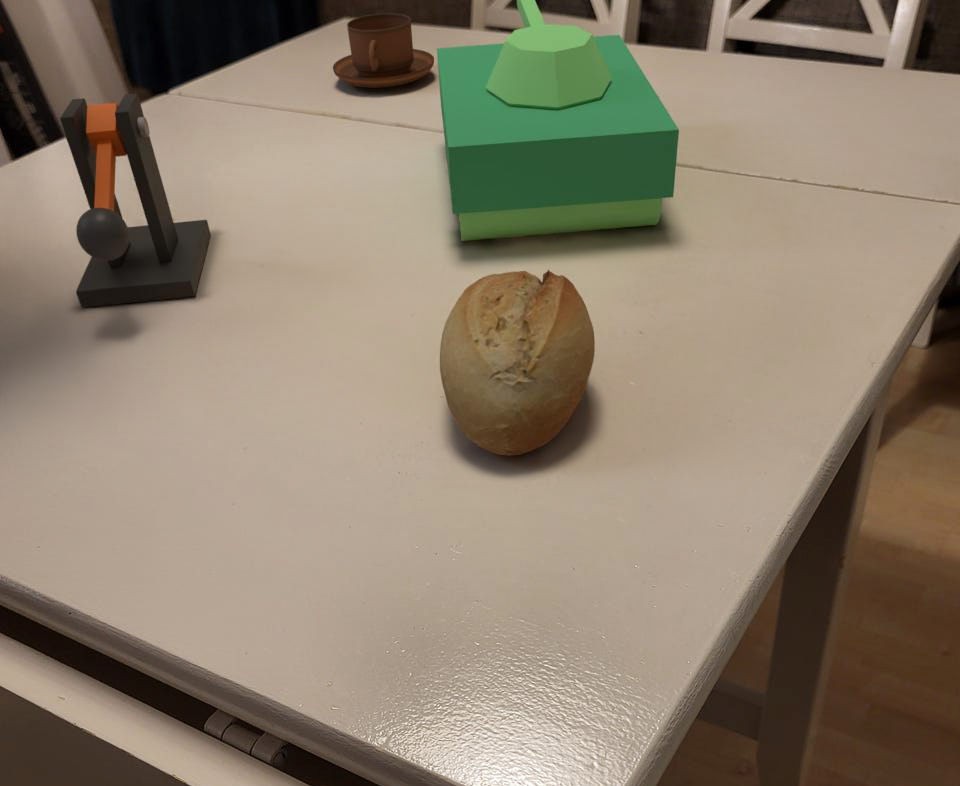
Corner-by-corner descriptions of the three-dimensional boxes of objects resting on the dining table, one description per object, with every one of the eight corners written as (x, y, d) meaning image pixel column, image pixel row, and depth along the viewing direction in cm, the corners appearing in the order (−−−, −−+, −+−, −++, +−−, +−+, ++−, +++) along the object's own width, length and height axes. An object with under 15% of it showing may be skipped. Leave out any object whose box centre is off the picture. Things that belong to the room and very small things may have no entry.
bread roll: (586, 341, 69) (589, 229, 63) (599, 466, 58) (604, 345, 52) (451, 346, 69) (441, 236, 64) (439, 471, 58) (426, 351, 53)
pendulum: (136, 268, 71) (118, 233, 68) (87, 273, 71) (66, 238, 68) (139, 134, 76) (122, 94, 73) (93, 138, 76) (74, 99, 73)
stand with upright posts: (195, 296, 77) (147, 126, 68) (81, 307, 77) (18, 138, 68) (210, 234, 86) (170, 76, 77) (108, 244, 86) (56, 86, 77)
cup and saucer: (444, 88, 112) (440, 27, 108) (342, 102, 111) (333, 41, 106) (425, 60, 121) (420, 3, 117) (329, 73, 119) (321, 15, 115)
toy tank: (608, -29, 97) (683, 75, 71) (603, 104, 105) (669, 239, 80) (431, -16, 96) (444, 93, 71) (440, 116, 105) (455, 256, 80)
